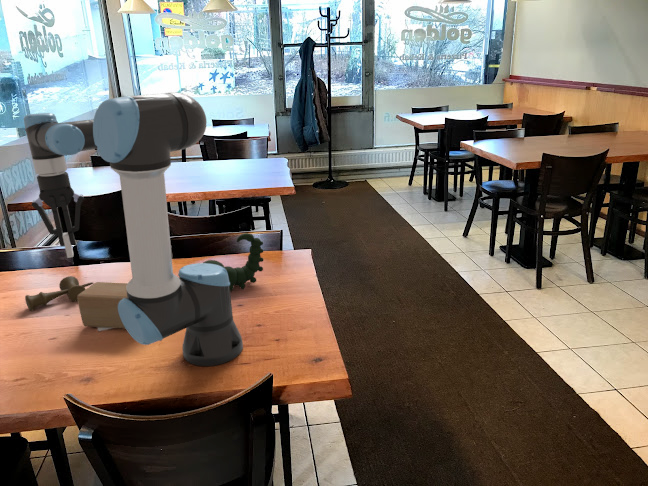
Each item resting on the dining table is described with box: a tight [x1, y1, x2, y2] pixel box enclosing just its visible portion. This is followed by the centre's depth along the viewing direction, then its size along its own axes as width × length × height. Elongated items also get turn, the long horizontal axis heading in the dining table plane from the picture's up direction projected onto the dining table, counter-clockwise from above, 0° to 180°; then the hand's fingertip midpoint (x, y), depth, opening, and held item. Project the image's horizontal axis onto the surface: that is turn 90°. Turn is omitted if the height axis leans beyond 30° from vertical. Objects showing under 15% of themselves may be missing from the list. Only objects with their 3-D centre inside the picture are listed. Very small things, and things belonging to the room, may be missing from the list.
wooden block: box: [77, 281, 128, 330], centre depth 147 cm, size 10×10×20 cm
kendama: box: [24, 275, 94, 312], centre depth 164 cm, size 6×10×20 cm
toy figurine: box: [202, 232, 264, 292], centre depth 165 cm, size 9×19×25 cm
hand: (70, 255), depth 145 cm, fingers closed
